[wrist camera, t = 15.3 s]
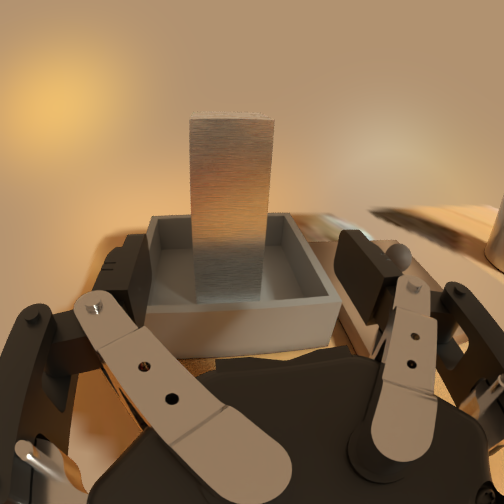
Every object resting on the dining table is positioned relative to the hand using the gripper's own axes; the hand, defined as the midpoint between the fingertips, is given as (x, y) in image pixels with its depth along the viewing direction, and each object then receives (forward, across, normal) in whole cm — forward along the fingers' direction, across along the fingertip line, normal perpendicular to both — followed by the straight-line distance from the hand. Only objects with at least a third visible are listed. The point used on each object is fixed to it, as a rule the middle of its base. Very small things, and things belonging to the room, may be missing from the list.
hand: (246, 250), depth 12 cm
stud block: (+8, -15, +10) cm, 20 cm away
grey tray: (+10, 0, +11) cm, 15 cm away
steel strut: (+10, 0, +10) cm, 14 cm away
